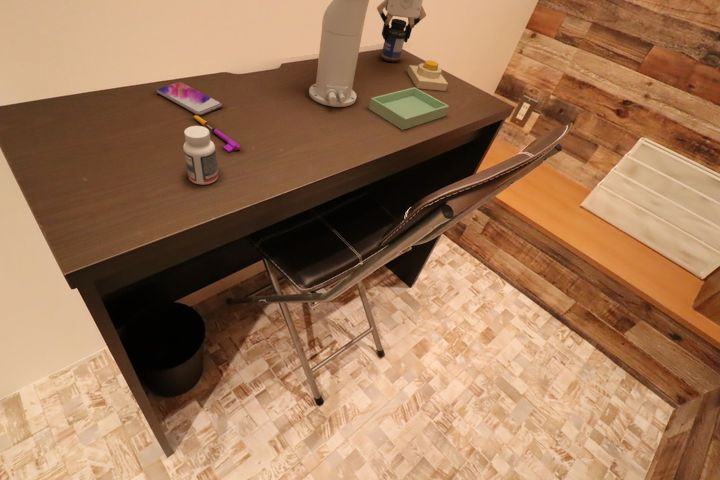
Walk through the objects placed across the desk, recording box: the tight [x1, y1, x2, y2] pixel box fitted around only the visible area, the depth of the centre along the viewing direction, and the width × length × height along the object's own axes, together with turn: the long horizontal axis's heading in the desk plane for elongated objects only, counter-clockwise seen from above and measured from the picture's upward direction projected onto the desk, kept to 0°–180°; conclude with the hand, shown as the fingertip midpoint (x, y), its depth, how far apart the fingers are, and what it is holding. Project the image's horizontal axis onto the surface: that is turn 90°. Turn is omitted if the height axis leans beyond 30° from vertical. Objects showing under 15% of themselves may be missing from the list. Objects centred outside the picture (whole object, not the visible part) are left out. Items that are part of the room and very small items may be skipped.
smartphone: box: [156, 81, 223, 116], centre depth 85 cm, size 7×1×15 cm
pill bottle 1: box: [182, 125, 219, 186], centre depth 63 cm, size 5×5×9 cm
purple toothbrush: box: [193, 114, 241, 154], centre depth 76 cm, size 3×1×16 cm
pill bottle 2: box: [380, 18, 407, 63], centre depth 117 cm, size 6×6×11 cm
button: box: [423, 60, 439, 71], centre depth 108 cm, size 4×4×2 cm
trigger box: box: [406, 62, 449, 92], centre depth 110 cm, size 12×9×4 cm
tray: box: [368, 86, 450, 131], centre depth 94 cm, size 17×12×3 cm
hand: (394, 39), depth 116 cm, fingers closed on pill bottle 2, 6 cm apart
